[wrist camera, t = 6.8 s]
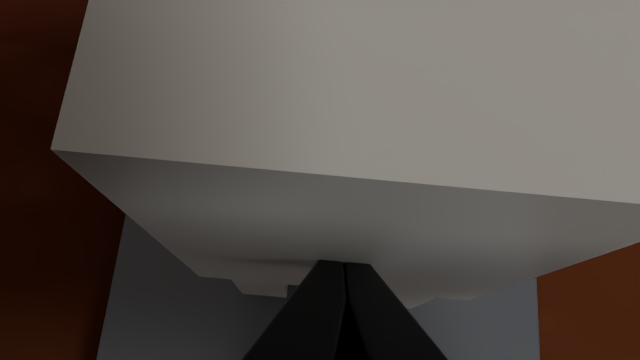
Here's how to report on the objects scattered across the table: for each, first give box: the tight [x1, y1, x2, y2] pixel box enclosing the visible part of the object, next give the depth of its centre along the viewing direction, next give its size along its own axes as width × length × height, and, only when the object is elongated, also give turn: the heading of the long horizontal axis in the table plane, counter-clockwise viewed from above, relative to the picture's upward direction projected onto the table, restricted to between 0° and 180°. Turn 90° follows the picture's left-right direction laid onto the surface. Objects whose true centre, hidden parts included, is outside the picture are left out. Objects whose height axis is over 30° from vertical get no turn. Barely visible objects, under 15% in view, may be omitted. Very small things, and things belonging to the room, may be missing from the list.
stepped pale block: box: [50, 0, 640, 309], centre depth 10 cm, size 4×6×10 cm, turn 85°
